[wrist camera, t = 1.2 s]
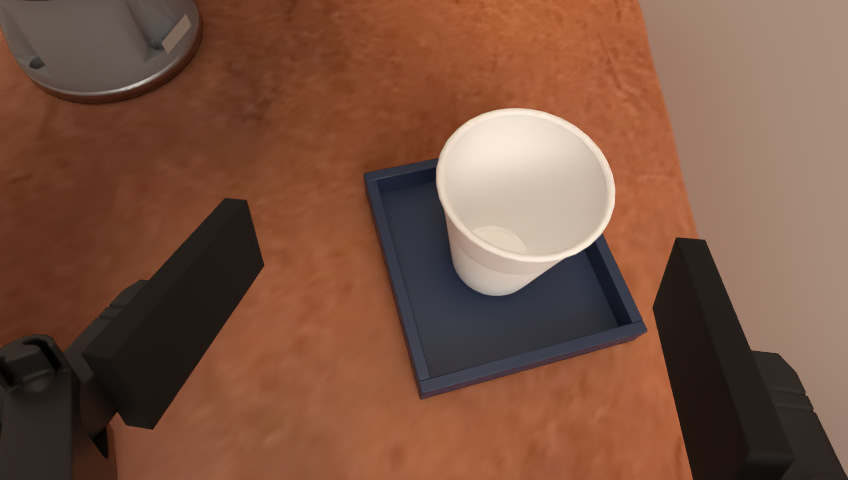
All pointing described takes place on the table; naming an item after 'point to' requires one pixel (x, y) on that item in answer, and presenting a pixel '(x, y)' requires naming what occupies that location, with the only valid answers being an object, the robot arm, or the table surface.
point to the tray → (484, 314)
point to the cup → (520, 196)
